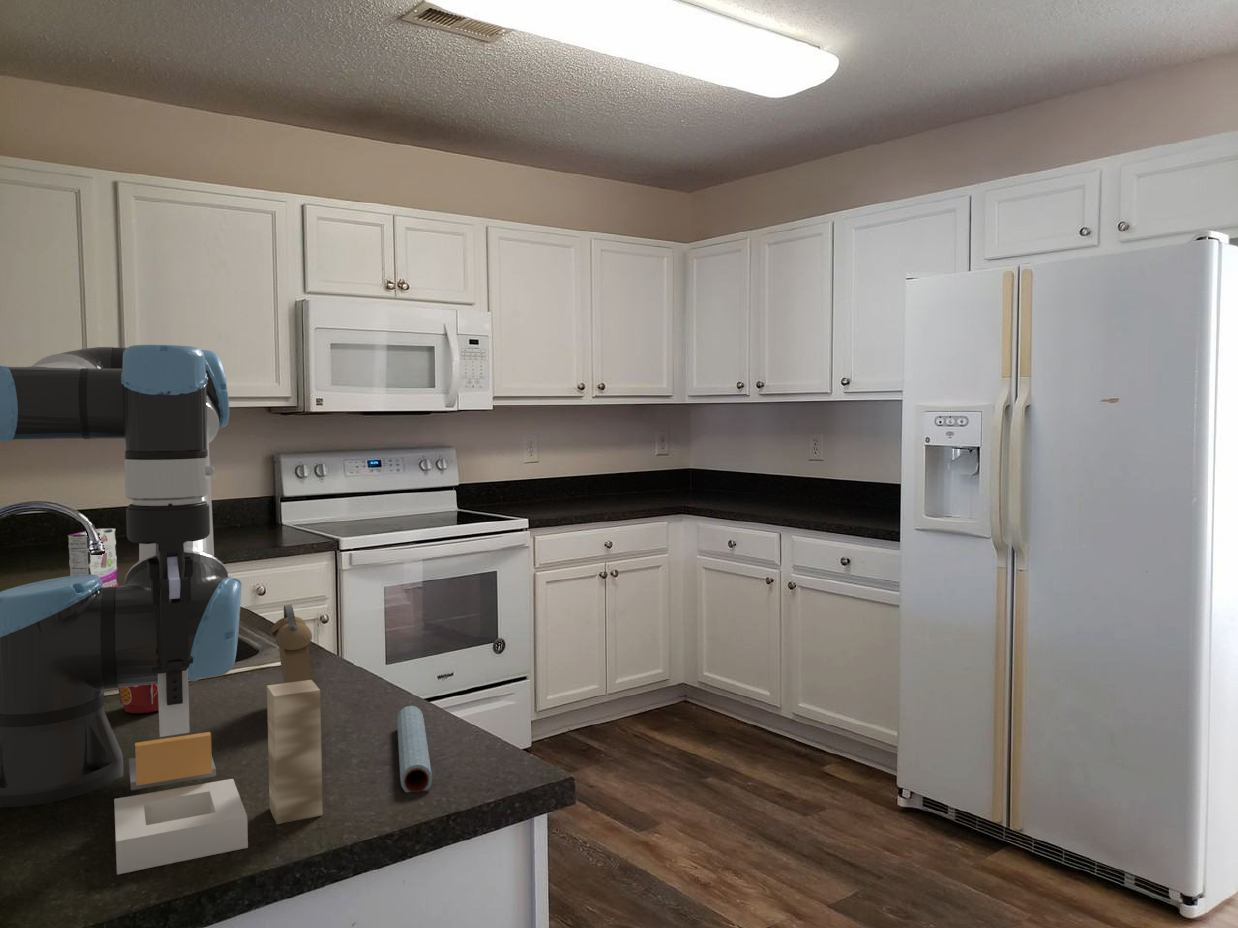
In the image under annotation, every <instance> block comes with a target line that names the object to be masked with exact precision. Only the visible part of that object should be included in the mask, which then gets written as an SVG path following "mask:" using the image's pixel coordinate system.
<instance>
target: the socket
mask: <svg viewBox="0 0 1238 928" xmlns="http://www.w3.org/2000/svg"><path fill="white" fill-rule="evenodd" d="M114 827H115V832H114V833H115V853H116V854H115V855H116V856H115V859H116V860H115V861H116V875H121V874H127V873H131V872H136V871H140V870H145V869H150V868H154V867H155V868H156V867H161V866H165V865H166V866H167V865H171V864H174V863H175V864H177V863H179V862H185V861H190V860H194V859H199V858H204V857H208V856H213V855H218V854H225V853H228V852H232V851H233V852H234V851H238V850H242V849H248V848H249V841H248V840H249V838H248V833H249V831H248V830H249V829H248V815H247V812H246V809H245V807H244V804H243V801H242V799H241V796H240V793H239V790H238V789H237V785H236V783H235V780H234V778H229V779H223V780H217V781H211V782H205V783H200V784H194V785H188V786H182V787H176V788H171V789H165V790H157V791H153V792H148V793H141V794H136V795H129V796H124V797H118V798H114Z"/></svg>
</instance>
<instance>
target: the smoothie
mask: <svg viewBox="0 0 1238 928" xmlns="http://www.w3.org/2000/svg"><path fill="white" fill-rule="evenodd" d="M118 696H119V697H118V698H119V703H120V704H122V705H123V709H124V712H127V713H130V714H147V713H153V712H159V703H158V684H149V685H139V686H130V687H121V688H118Z"/></svg>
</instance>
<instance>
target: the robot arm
mask: <svg viewBox="0 0 1238 928" xmlns="http://www.w3.org/2000/svg"><path fill="white" fill-rule="evenodd" d="M227 387H228V386H227V377H226V374H225V369H224V365H223V362H222V360H221V358H220V356H219V355H218V354H217V353H216V352H214V351H212V350H208V349H207V350H206V349H200V348H198V347H196V346H192V345H191V346H188V345H178V344H177V345H176V344H175V345H174V344H173V345H172V344H136V345H130V346H128V347H114V346H97V347H87V348H81V349H76V350H75V349H74V350H69V351H65V352H61V353H55V354H51V355H47V356H45V357H43V358H41V359H39V360H37V361H36V362H35V363H34V364H32V365H31V366H6V365H0V441H1V442H5V443H6V442H12V441H43V440H47V441H48V440H82V439H83V440H124V445H125V447H124V448H125V451H124V459H123V462H124V463H123V464H124V466H123V467H124V495H125V497H126V498H127V499H128V500H132V501H131V504H129V505H128V506H127V507H126V508H125V511H126V513H125V514H126V515H125V516H126V537H127V540H129V542H131V543H134V544H139V546H138V549H139V550H138V551H139V552H138V554H139V555H138V558H139V559H138V561H137V562H136V563H134V564H133V565H132V566H131V567H130V568H129V569H128V571H127V573H126V575H125V579H124V585H118V586H117V587H102V581H101V580H100V577H99V576H97V575H92V574H87V575H80V576H79V575H74V576H70V575H68V576H62V577H54V578H48V579H44V580H39V581H38V580H37V581H35V582H30V583H25V584H22V585H17V586H14V587H10V588H7V589H4V590H2V591H0V808H19V807H20V808H21V807H30V806H39V805H45V804H49V803H55V802H58V801H65V800H67V799H71V798H75V797H79V796H81V795H85V794H88V793H91V792H94V791H96V790H99V789H100V788H103V787H105V786H107V785H109V784H110V783H112V782H114V781H115V780H116V779H118V778H123V776H124V756H123V752H122V749H121V747H120V745H119V743H118V741H117V738H116V736H115V733H114V730H113V728H112V726H111V723H110V720H109V719H108V716H107V714H106V710H105V690H108V689H109V690H110V689H116V688H117V689H119V688H121V687H130V686H139V685H149V684H158V703H159V710H158V728H159V730H158V731H159V732H158V734H159V738H162V737H169V736H176V735H183V734H189V733H190V731H191V730H190V699H189V697H190V693H189V692H190V691H189V689H190V687H189V682H197V681H198V680H200V679H207V678H214V677H220V676H223V675H226V674H228V673H229V672H230V671H231V670H232V669H233V667H234V665H235V663H236V659H237V658H236V656H237V652H238V651H237V649H238V648H237V647H238V641H239V629H240V614H241V605H242V581H241V580H240V579H239V578H234V577H232V576H229V573H228V572H229V571H228V570H227V567H226V566H225V564H224V563H223V562H222V561H221V560H219V559H218V558H217V557H215V549H214V548H215V545H214V542H215V541H214V524H213V522H214V521H213V504H212V483H211V482H212V481H211V476H214V475H215V471H216V469H215V468H214V466H211V461H210V459H211V458H210V443H212V442H213V440H214V439H215V438H216V437H217V435H218V433H219V430H220V429H221V428H225V427H226V426H228V424H229V419H230V400H229V392H228V389H227Z"/></svg>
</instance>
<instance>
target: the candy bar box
mask: <svg viewBox="0 0 1238 928" xmlns="http://www.w3.org/2000/svg"><path fill="white" fill-rule="evenodd" d="M95 530H96V531H97V533H98V535H99V537H100V539H101V541H102V542H103V545H104V548H105V553H104V554H102V555H91V554H90V551H89V538H88V536H87V533H86V531H87V530H86V531H81V532H80V531H79V532H77V533H76V532H75V533H73V534H68V535H67V542H68V543H67V545H68V560H69V561H68V562H69V563H68V564H69V565H68V566H69V576H74V575H79V576H80V575H87V574H92V575H97V576H99V577H100V580H101V581H102V587H117V586H119V578H118V559H117V556H118V554H117V535H116V528H96V529H95Z"/></svg>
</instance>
